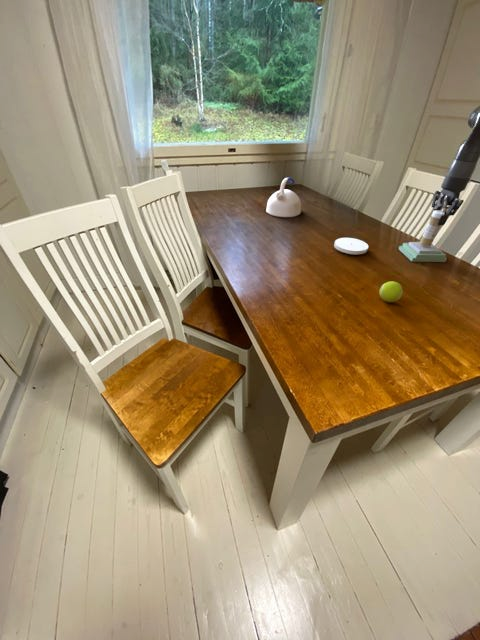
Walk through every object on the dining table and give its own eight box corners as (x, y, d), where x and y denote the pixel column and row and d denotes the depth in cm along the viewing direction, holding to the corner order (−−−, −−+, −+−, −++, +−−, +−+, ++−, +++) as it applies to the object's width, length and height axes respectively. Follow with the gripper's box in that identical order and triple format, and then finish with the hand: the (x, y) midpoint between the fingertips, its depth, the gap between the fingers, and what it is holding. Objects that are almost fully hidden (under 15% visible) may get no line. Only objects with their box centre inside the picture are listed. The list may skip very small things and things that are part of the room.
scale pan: (428, 245, 118) (429, 242, 117) (440, 254, 111) (442, 251, 110) (407, 245, 118) (409, 241, 117) (418, 254, 111) (420, 250, 110)
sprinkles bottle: (427, 242, 115) (442, 209, 107) (433, 247, 112) (450, 213, 103) (416, 242, 115) (431, 209, 106) (422, 247, 112) (438, 213, 103)
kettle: (259, 213, 156) (261, 178, 145) (275, 204, 170) (278, 172, 159) (292, 220, 148) (297, 183, 137) (306, 210, 162) (311, 176, 151)
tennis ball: (378, 292, 93) (385, 275, 89) (399, 298, 91) (407, 281, 86) (374, 302, 89) (381, 284, 84) (397, 308, 86) (405, 290, 82)
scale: (429, 249, 121) (432, 243, 119) (445, 262, 112) (449, 255, 110) (398, 249, 121) (400, 242, 119) (411, 261, 112) (414, 254, 110)
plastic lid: (373, 252, 118) (375, 246, 116) (351, 259, 112) (353, 253, 111) (348, 240, 127) (350, 235, 126) (326, 246, 122) (328, 241, 120)
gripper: (483, 179, 91) (457, 229, 102) (456, 170, 102) (435, 216, 113) (461, 179, 91) (437, 229, 102) (437, 170, 102) (417, 216, 113)
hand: (436, 222), depth 107 cm, fingers closed on sprinkles bottle, 4 cm apart
